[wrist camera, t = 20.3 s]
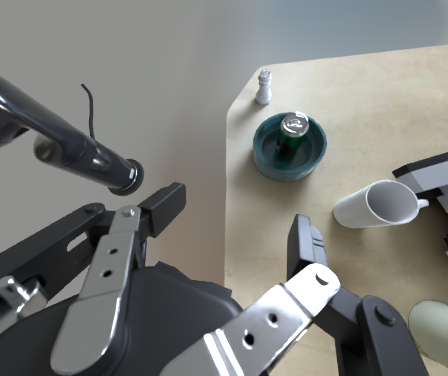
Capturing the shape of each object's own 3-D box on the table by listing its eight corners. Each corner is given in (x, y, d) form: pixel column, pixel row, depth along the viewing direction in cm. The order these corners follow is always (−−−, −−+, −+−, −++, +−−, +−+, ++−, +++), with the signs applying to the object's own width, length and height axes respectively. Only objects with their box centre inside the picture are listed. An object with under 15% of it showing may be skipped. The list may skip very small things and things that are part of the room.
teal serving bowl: (242, 162, 44) (240, 151, 39) (274, 119, 46) (277, 102, 41) (295, 194, 40) (302, 187, 34) (328, 145, 42) (340, 130, 36)
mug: (334, 229, 36) (370, 223, 25) (329, 198, 38) (361, 180, 27) (388, 230, 34) (454, 225, 23) (380, 198, 36) (437, 178, 25)
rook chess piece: (253, 95, 50) (253, 70, 42) (268, 91, 49) (271, 64, 42) (258, 107, 48) (258, 83, 41) (273, 102, 48) (277, 77, 40)
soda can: (296, 162, 41) (311, 133, 30) (274, 163, 42) (281, 135, 31) (294, 144, 43) (308, 109, 31) (273, 145, 44) (280, 112, 32)
